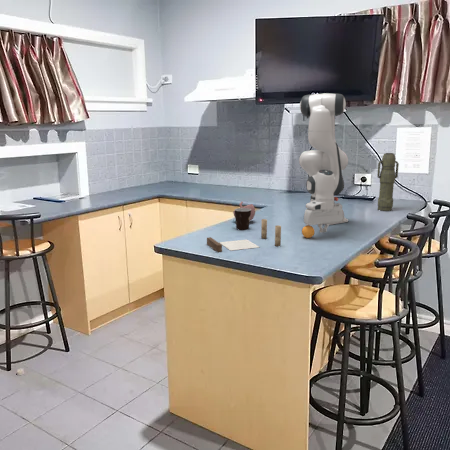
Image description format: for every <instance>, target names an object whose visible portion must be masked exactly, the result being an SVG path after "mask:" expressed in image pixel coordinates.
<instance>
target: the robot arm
mask: <svg viewBox="0 0 450 450" xmlns="http://www.w3.org/2000/svg"><path fill="white" fill-rule="evenodd" d="M346 105H347V103H346V98H345V96H344V95H343V94H341V93H329V92H326V93H325V92H324V93H314V94H306V95H303V96H302V97H301V99H300V102H299V110H300V113H301V114H302V116H304V117H306V119H309V121H308V131H307V133H308V135H307V137H308V143H309V145H310V146H311V147H312V148H314V149H313V150H310V149H309V150H305V151H302V152H301V154H300V156H299V159H298V163H299V166H300V167H301V168H302V170H304V171H305V172H306V174H307V175H308V178H307V180H306V183H305V184H306V186H305V187H306V188H305V189H306V191H307V192H308V193H309V194H310V202H308V203H306V204H305V208H306V209H305V210H304V217H303V223H304V224H305V225H306V226H307V225H309V226H314V225H317V227H318V229H319V233H321V234H322V233H327V232H328V231H327V230H328V228H329V226H333V225H339V224H343V223H348V222H349V219H348V218H346V217H345V213H344V212H345V211H344V210H343V205H342V204H341V203H340V202H338V201H339V198H338V197H336V196H338V195H340V194H341V193H342V192H343V190H345V189H344V188H345V182H344V176H343V173H342V171H344V170H345V169H346V168H347V166H348V164H349V157H348V155H347V154H346V152H344V150H342V149H341V148H340V146H338V143H337V141H336V134H335V132H336V131H335V129H336V128H335V127H336V126H335V125H336V120H335V117H338V116H341V115H342V114H344V111H345V109H346V107H347V106H346ZM335 202H337V203H335ZM323 225H324V226H323Z"/></svg>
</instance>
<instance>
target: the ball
mask: <svg viewBox="0 0 450 450" xmlns="http://www.w3.org/2000/svg"><path fill="white" fill-rule="evenodd" d="M315 232H316V231H315V228H314V227H313V225H307V224H306V225H305V226H303V227H302V230H301V234H302V236H303V237H304V238H306V239H311V238H312V237H313V236H314V235H315Z"/></svg>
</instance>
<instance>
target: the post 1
mask: <svg viewBox="0 0 450 450" xmlns="http://www.w3.org/2000/svg"><path fill="white" fill-rule="evenodd" d="M260 226H261V228H260V229H261V231H260V233H261V236H260V237H261V239H262V240H265V239H268V238H267V236H268V235H267V234H268V219H267V218H266V219H265V218H263V219H261V225H260Z"/></svg>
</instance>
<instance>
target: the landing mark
mask: <svg viewBox="0 0 450 450" xmlns="http://www.w3.org/2000/svg"><path fill="white" fill-rule="evenodd" d="M218 243H220V244H221V245H222V247H224V248H226V249H227V250H229V251H230V252H232V251H240V250H249V249H250V250H251V249H256V248H257V249H258V248H260V246H259V245H257V244H255V243H254V242H252V241H250V240H248V239H239V240H237V239H236V240H229V241H221V242H220V241H219V242H218Z"/></svg>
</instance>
